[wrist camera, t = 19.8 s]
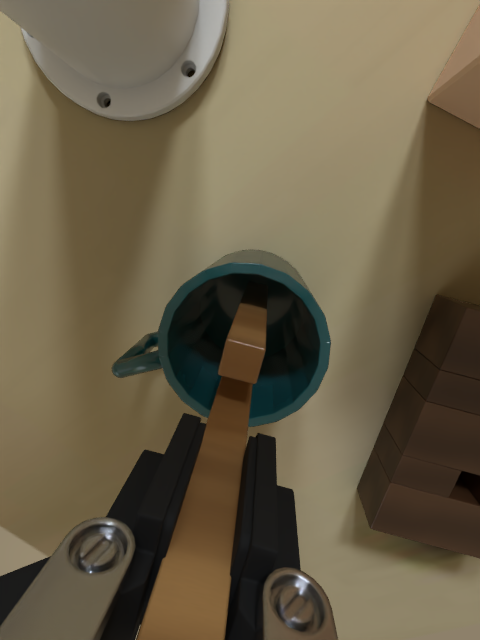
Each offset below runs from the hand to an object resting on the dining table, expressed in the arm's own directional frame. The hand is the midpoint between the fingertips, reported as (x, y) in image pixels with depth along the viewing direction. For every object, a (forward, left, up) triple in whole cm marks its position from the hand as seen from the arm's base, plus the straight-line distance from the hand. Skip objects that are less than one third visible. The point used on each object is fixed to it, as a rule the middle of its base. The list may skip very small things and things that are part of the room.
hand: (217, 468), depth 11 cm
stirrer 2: (-3, 0, -15) cm, 16 cm away
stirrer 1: (0, 0, -8) cm, 8 cm away
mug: (0, -2, -16) cm, 16 cm away
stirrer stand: (+3, +17, -16) cm, 23 cm away
